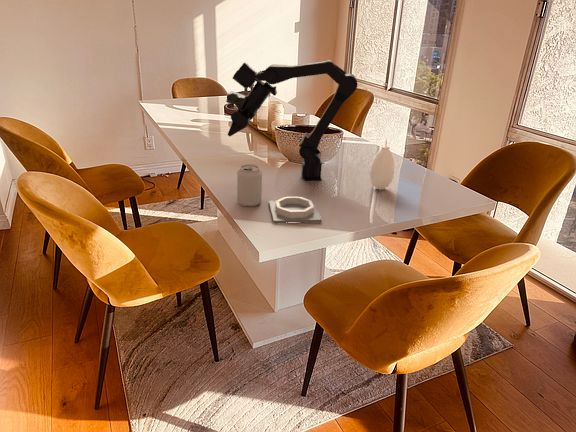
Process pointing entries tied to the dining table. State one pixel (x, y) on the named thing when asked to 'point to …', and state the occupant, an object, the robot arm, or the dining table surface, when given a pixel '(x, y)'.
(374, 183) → the sauce bottle
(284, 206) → the housing
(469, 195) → the dining table surface
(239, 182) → the can
